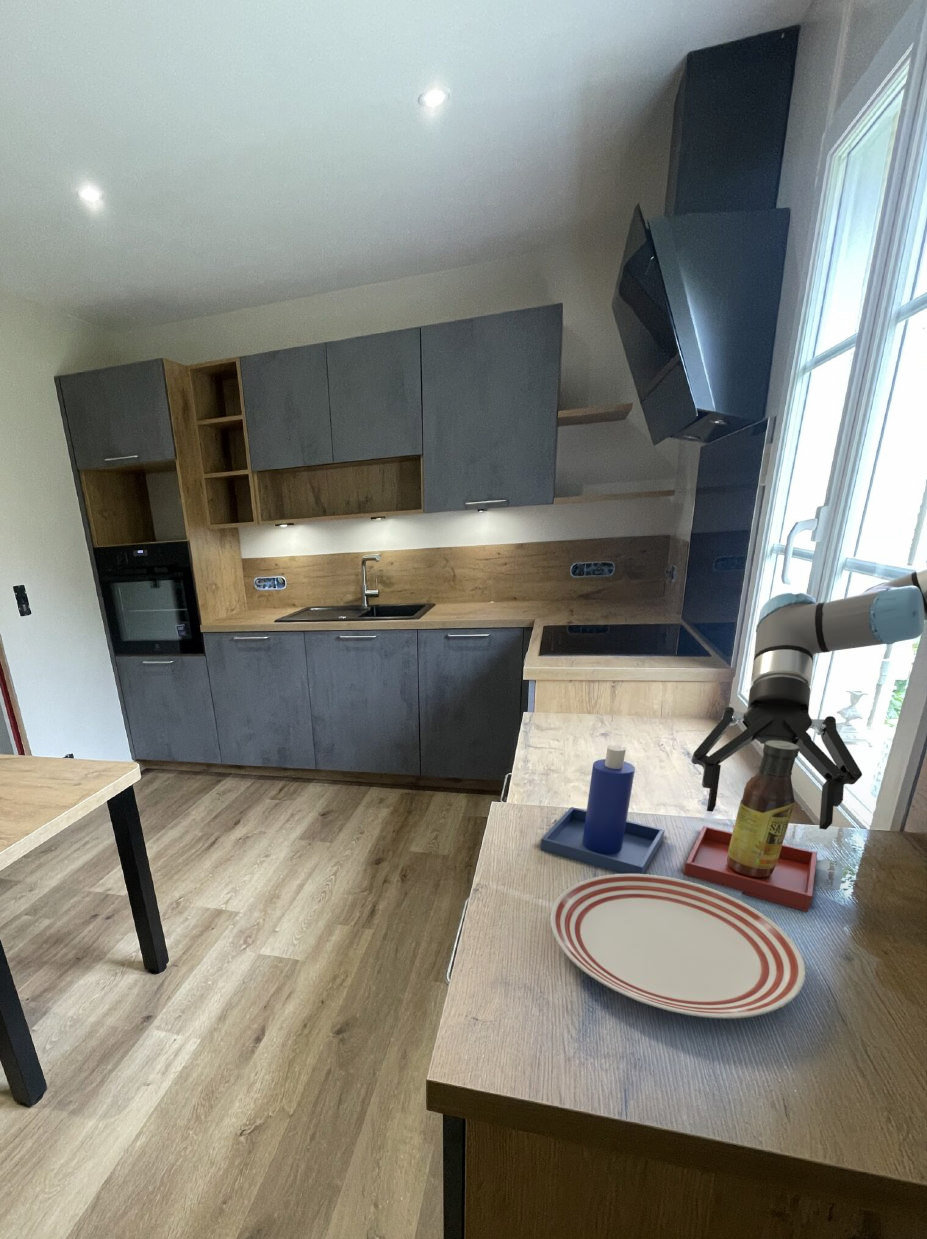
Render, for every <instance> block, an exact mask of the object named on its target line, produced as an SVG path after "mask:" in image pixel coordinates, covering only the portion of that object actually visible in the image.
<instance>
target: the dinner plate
mask: <svg viewBox="0 0 927 1239" xmlns="http://www.w3.org/2000/svg"><path fill="white" fill-rule="evenodd" d="M549 920H550V927H551V932H552V934H553V936H554V939H555V941H556V943H557V945H558V946H559V948H560V950H562V952H563V954H565V955H566V957H567V958H568V959H569V960H570V961H571V962H572V963H573V964H574V965H575V966H576V967H578V968H579V969H580V970H581V971H582V972H584V973H585V974H586V975H588V976H589V977H590V978H593V980H596V981H597V982H599V983H600V984H602V985H603V986H605V987H607V988H609V989H611V990H612V991H615V992H617V993H619V994H621V995H623V996H625V997H627V998H629V999H632V1000H634V1001H637V1002H639V1003H642V1004H645V1005H648V1006H651V1007H654V1008H657V1009H661V1010H665V1011H668V1012H672V1013H677V1014H682V1015H685V1016H692V1017H699V1018H708V1019H744V1018H745V1019H746V1018H753V1017H758V1016H761V1015H767V1014H769V1013H772V1012H775V1011H777V1010H779V1009H781V1008H783V1007H785V1006H786V1005H787V1004H789V1003H790V1002H792V1001H793V1000H794V999H796V997H797V996H798V995H799V994H800V992H801V990H802V988H803V986H804V984H805V981H806V975H807V974H806V973H807V972H806V965H805V962H804V958H803V956H802V953H801V952H800V950H799V948H798V947H797V945H796V944H795V943H794V941H793V940H792V938H790V936H789V935H788V934H787V933H786V932H785V931H784V930H783V929H782V928H781V927H780V926H779V925H778V924H776V922H774V921H773V920H771V919H770V918H769V917H768V916H766V915H765V914H763V913H762V912H760V911H759V910H757V909H755V908H754V907H752V906H751V905H749V904H747V903H746V902H743V901H742V900H739V899H738V898H735V897H734V896H731V895H729V894H727V893H724V892H722V891H719V890H717V889H714V888H711V887H708V886H706V885H704V884H700V883H696V882H692V881H689V880H683V879H679V878H676V877H669V876H664V875H657V874H648V873H647V874H645V873H644V874H620V873H614V874H613V873H612V874H605V875H600V876H596V877H591V878H588V879H585V880H582V881H580V882H577V883H575V884H572V885H571V886H569V887H568V888H567V889H565V890H564V891H563V892H562V893H560V894H559V896H558V897H557V898H556V900H555V901H554V902H553V905H552V907H551V911H550V918H549Z"/></svg>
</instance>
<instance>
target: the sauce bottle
mask: <svg viewBox="0 0 927 1239" xmlns="http://www.w3.org/2000/svg"><path fill="white" fill-rule="evenodd" d="M762 753H763V754H762V758H761V762H760V765H759V767H758V772H757V773H756V774H754V776H752V777H750V779H748V781H747V782H746V784H745V786H744V788H743V794H742V798H741V799H740V802H739V806H738V811H737V814H736V818H735V822H734V825H733V829H732V837H731V841H730V845H729V850H728V857H727V864H728V866H729V867H730V868H731V869H732V870H734V871H735V872H738V873H740V874H743V875H746V876H749V877H758V878H761V877H768V876H770V875H772V873H773V871H774V868H775V867H776V865H777V862H778V858H779V855H780V851H781V848H782V844H784V840H785V838H786V833H787V831H788V827H789V823H790V821H791V820H790V819H791V817H792V813H793V809H794V806H795V802H796V800H795V794H794V789H793V782H792V775H793V768H794V764H795V761H796V759H797V758H798V756H799V753H800V752H799V747H798V746H797V745H795V744H793V743H790V742H785V741H775V740H771V741H766V742H765V744H763V748H762Z"/></svg>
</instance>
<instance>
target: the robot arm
mask: <svg viewBox="0 0 927 1239" xmlns="http://www.w3.org/2000/svg"><path fill="white" fill-rule="evenodd" d="M758 616H759V617H758V621H757V624H756V626H755V627H756V628H755V644H754V654H753V660H752V661H753V662H752V671H751V678H750V688H749V693H748V700H747V710H746V711H745V712H741V711H736V710H735V709H734V707H731V706H727V707H725V709H724V711H723V714H722V716H721V719H720V721H719V722H718V723H717V724H716V726H715V727H714V728H713V729H712V730H711V732H709V734H708V735H707V736H706V737H705V739H704V740H703V741H702V742H701V743H700V744H699V746H698V747H697V748H696V749H695V750H694V752H693V754H692V756H691V759H690V760H691V764H693V765H699V766H701V767H702V769H703V774H702V779H701V786H702V788H704V789H709V792H708V799H707V805H706V811H707V812H711V813H713V812H714V810H715V808H716V805H717V798H718V791H719V783H720V776H721V768H722V767H721V766H722V764H721V763H723V762H725V761H726V760H727V759H729V758H730V757H731V756H733V755H734V754H736V753H737V752H739V751H740V750H741V749H743V748H744V747H745V746H748V745H750V744H751V743H752V742H754V741H757V742H759V744H761V745H762V744H763V745H764V744H765V742H766V741H771V740H775V741H785V742H790V743H793V744H795V745H797V746H798V747H799V752H798V753H800V755H802V756H803V758H805V760H806V761H807V762H808V763H809V764H810V765H811V766H812V767H813V768H814V769H815V771H817V773H819V775H820V776H821V777H822V778H823V779H824V781H825V782H824V783H823V784H822V786H821V797H820V798H821V799H820V813H819V824H818V826H819V827H818V829H819V830H824V831H825V830H827V829H828V828H830V826H832V824H833V819H834V807H839V806H840V805H841V804H842V803H843V801H844V789H845V785H854V784H856V783H857V782H858V781H859V779H861V777H862V776H863V772H862V771H861V769H860V767H859V766H858V764H857V762H856V760H855V759H854V757H853V755H852V754H851V752H850V750H849V749H848V747H847V745H846V744H845V742H844V740H843V738H842V737H841V735H840V734H839V732H838V729H837V721H836V720H837V719H836V718H835V717H834V716H833V715H828V716H826V717H825V719H823V718H822V719H821V718H818V719H816V718H815V719H814V718H811V716H810V714H809V713H810V712H809V711H810V699H811V685H812V674H813V663H814V655H817V654H823V653H831V652H835V651H844V650H850V649H851V650H852V649H857V648H864V647H873V646H879V645H893V644H895V643H899V642H905V641H909V640H914V639H917V638H920V636H921V635H922V634H923V633H924V631H925V623H926V622H925V621H927V566H925V567H922V568H919V569H917V570H916V571H913V572H910V573H907V574H904V575H902V576H899V577H897V578H894V579H891V580H889V581H885V582H881V583H878V584H875V585H874V586H871V587H869V588H866V590H865V591H864V592H862V593H860V594H857V595H853V596H852V595H851V596H849V597H844V598H840V599H834V600H830V601H822V602H817V600H816V599H815V598H814V597H813V596H812V595H809V594H808V593H804V592H799V593H793V592H785V593H780V594H777V595H775V596H773V597H771V598H770V599H768V600H766V601H765V603H764V604H763V605H762V606H761V608H760V612H759V615H758ZM739 722H742V724H743V725H744V727H745V729H744V730H743V731H742V732H741V733H739V734H738V735H737V736H735V737H734V738H733V739H731V740H729V741H728V742H727V743H726V744H725V745H723V746H721V747H720V748H719V749H718V750H716V751H715V752H712V753H711V754H710V755H708V753H710V751H711V750H712V749H713V748H714V747H715V746H716V744H717V743H718V742H719V741H720V740H721V738H722V737H723V736H724V734H726V732H727V731H728V729H729V727H733V726H736V724H737V723H739ZM810 729H812V730H814V731H815V733H816V735H817V736H820V739H821V741H822V744H823V745H824V747H825V749H826V750H827V752H828V754H829V756H830V757H831V758H830V757H829V756H828V755H827V754H826V753H825V752H824V751H823V750H822V749H821V748H820V747H819V746H818V745H817V744H816V743H815V741H814V740H812V736H811V735H810V734H809V733H808V732H807V731H808V730H810Z"/></svg>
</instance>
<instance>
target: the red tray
mask: <svg viewBox="0 0 927 1239" xmlns="http://www.w3.org/2000/svg"><path fill="white" fill-rule="evenodd" d="M732 833H733V831H732V832H731V831H727V830H724V829H719V828H715V827H710V826H706V825H703V826H702V828H701V830H700V832H699V834H698V836H697V839H696V841H695V842H694V845H693V847H692V849H691V851H690V854H689V855H688V858H687V860H686V862H685V865H684V870H683V876H688V877H691V878H695V879H699V880H701V881H705V882H709V883H712V884H715V885H718V886H719V885H720V886H723V887H726V888H730V889H734V890H738V891H740V892H741V891H742V893H741V894H742V895H745V896H749V897H753V898H756V899H760V900H763V901H767V902H771V903H774V904H777V905H782V906H785V907H789V908H792V909H796V910H800V911H802V912H806V913H808V912H809V908H810V905H811V902H812V899H813V894H814V884H815V876H816V868H817V857H818V851H813V850H809V849H805V848H801V847H796V846H792V845H788V844H784V843H783V844H782V848H781V851H780V855H779V858H778V862H777V865H776V867H775V868H774V871H773V873H772V875H770V876H768V877H761V878H758V877H749V876H746V875H743V874H740V873H738V872H735V871H734V870H732V869H731V868H730V867H729V866H728V864H727V857H728V850H729V845H730V841H731V837H732Z"/></svg>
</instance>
